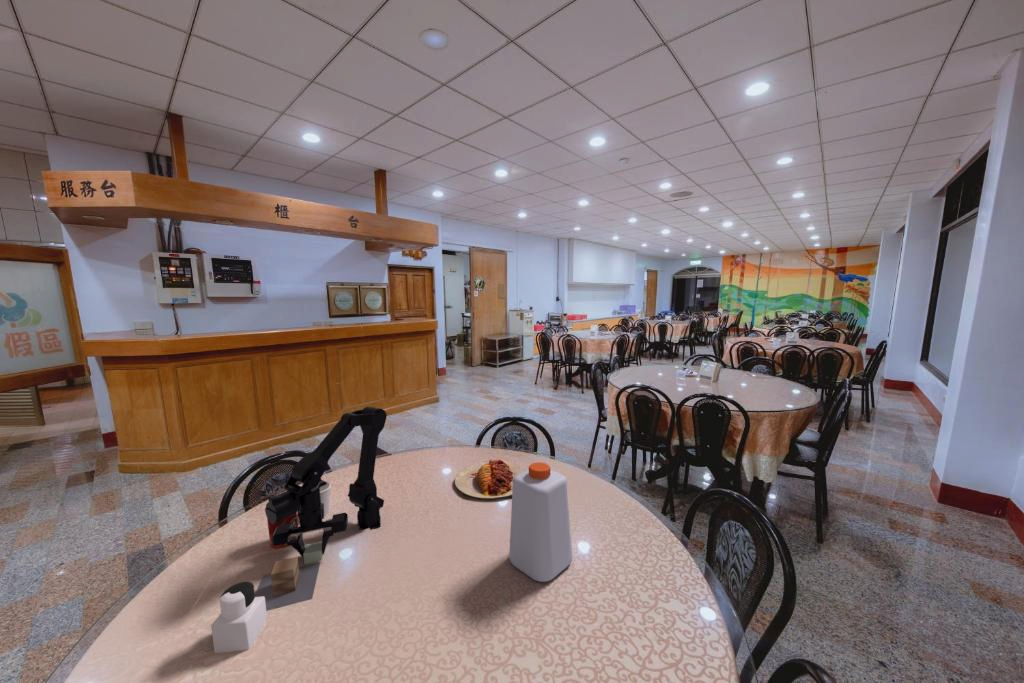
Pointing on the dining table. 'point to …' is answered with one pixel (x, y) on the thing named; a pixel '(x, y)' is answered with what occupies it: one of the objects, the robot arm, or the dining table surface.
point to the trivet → (301, 594)
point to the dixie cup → (325, 497)
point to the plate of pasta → (489, 478)
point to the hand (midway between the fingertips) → (314, 555)
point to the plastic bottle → (540, 523)
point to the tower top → (284, 570)
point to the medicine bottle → (238, 619)
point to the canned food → (272, 527)
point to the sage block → (313, 552)
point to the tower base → (286, 586)
